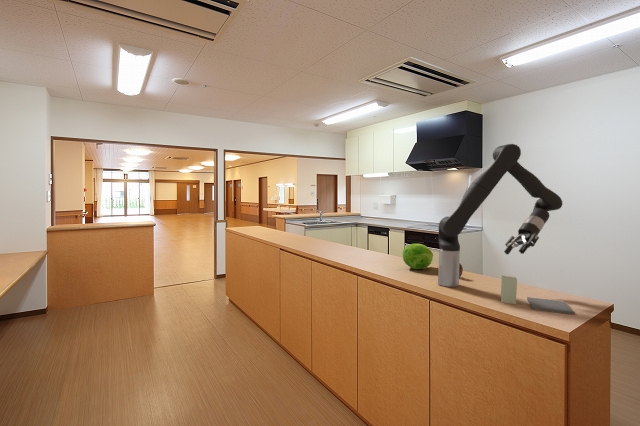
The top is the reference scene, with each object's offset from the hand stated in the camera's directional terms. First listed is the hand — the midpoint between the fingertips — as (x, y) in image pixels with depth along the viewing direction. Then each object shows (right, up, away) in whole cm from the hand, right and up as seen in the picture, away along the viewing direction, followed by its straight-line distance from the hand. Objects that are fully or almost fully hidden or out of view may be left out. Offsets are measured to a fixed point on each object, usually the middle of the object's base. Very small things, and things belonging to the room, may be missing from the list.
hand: (513, 252), depth 146 cm
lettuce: (-28, -15, +48) cm, 58 cm away
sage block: (-9, -19, -11) cm, 24 cm away
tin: (-16, -17, +31) cm, 39 cm away
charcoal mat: (+4, -19, -17) cm, 26 cm away
